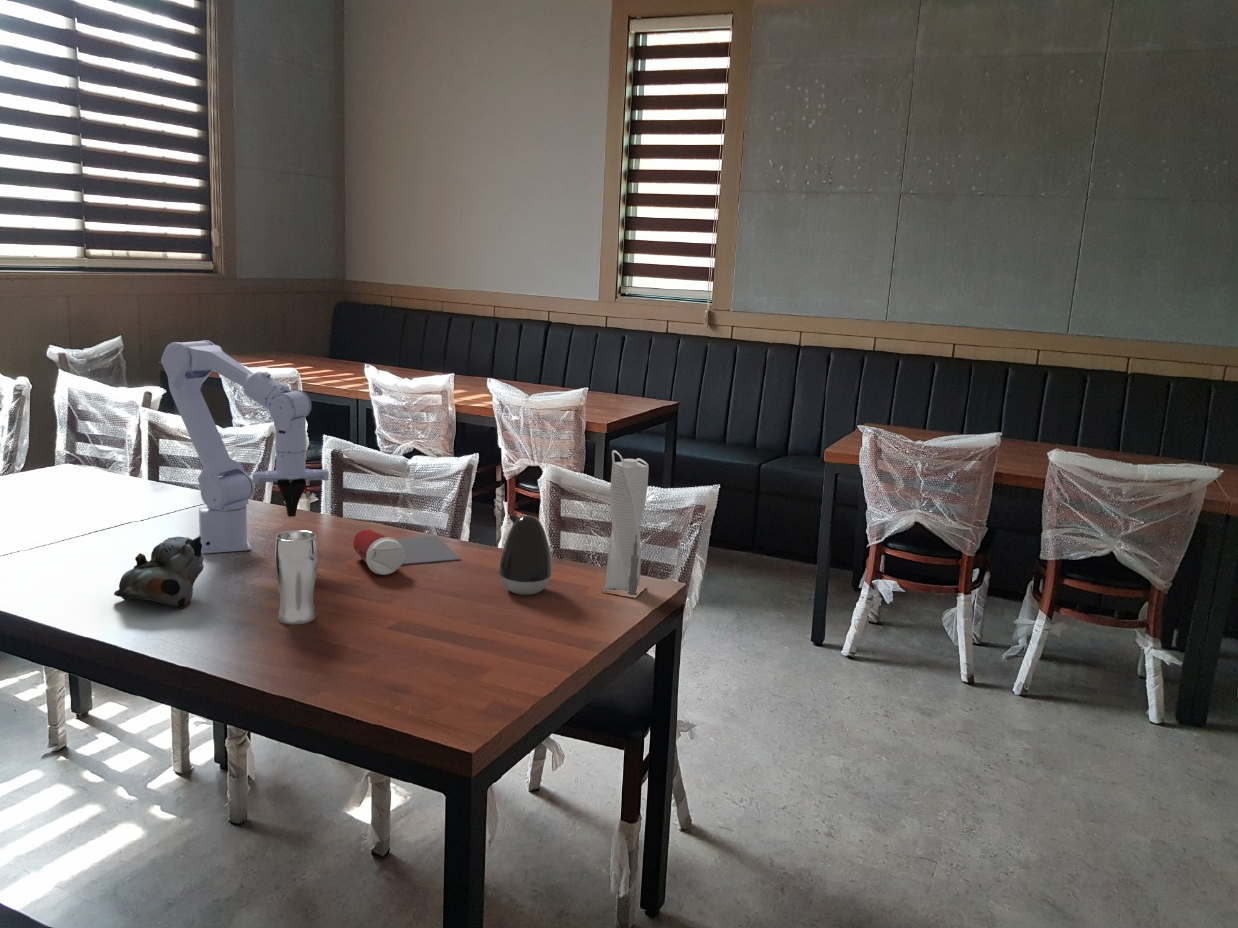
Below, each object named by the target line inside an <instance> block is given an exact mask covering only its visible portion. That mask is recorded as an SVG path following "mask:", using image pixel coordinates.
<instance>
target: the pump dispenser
mask: <svg viewBox="0 0 1238 928" xmlns="http://www.w3.org/2000/svg"><path fill="white" fill-rule="evenodd" d="M508 516H509V520H510V521H511V522H512V523H513V524H512V525H511V528H510V530H509V531H508V535H507V536H506V539H505V542H504V545H503V548H502V552H501V557H500V563H499V571H498V573H499V575H500V576H501V577H500V578H501V581H502V584H503V585H504V587H505V588H506V589H507V590H508V591H509V592H512V593H513V594H516V595H520V596H530V595H531V596H532V595H535V594H538V593H540V592H541V591H543V590H544V589H545V588H546V586H547V585H548V583H549V581H550V578H551V576H552V573H553V565H552V554H551V550H550V545H549V541H548V537H547V534H546V531H545V529H544V526H543V525H542V522H541V521H540V520H539V519H538V518H536V517H535V516H533V515H523V516H520V517H517V516H516V515H515V514H514V513H511V514H510V515H508Z"/></svg>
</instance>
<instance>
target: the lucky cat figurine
mask: <svg viewBox="0 0 1238 928" xmlns="http://www.w3.org/2000/svg"><path fill="white" fill-rule="evenodd" d="M200 541H201V537H195V538H194V539H192V538H190V537H188V536H187V537H186V536H185V537H184V536H172V537H167V538H165V539H164V540H163V542H160V543H158V544H157V545H156V546H154V548H153V549H152V552H151V554H150V560H149V561H148V560H147V557H146V556H145V554H144V553H142V552H141V553H140V552H139V553H138V555H136V556H135V558H134V560H135V562H136V565H134V566H133V567H132V568H131V569H129V570H127V571H125V572H124V573H123V574H122V576H121V578H120V581H119V584H118V587H119V588H118V590H115V591H113V592H114V593H113V596H116V597H119V598H122V600H123V601H124V600H125V601H126V600H128V599H131V600H133V599H134V600H142V601H143V600H145V601H153V602H157V603H161V604H164V605H168V606H173V607H178V608H179V609H185V608H187V607H188V606H190V605H191V602H192V599H193V595H194V594H193V593H194V583H195V582H196V580H197V578H198V577H199V575H200V574H201V572H203V570H204V568H205V567H204V566H205V564H204V563H203V562H204V559H205V556H204V553H202V551H201V549H202V544H201V542H200Z"/></svg>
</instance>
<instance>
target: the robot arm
mask: <svg viewBox="0 0 1238 928" xmlns="http://www.w3.org/2000/svg"><path fill="white" fill-rule="evenodd" d="M160 362H161V364H162V367H163V369H164V371H165V373H166V376H167V380H168V388H169V392H170V394H171V397H172V399H173V401H174V404H175V406H176V408H177V410H178V413H179V415H180V418H181V419H182V422H183V423H184V424H183V425H184V426H185V429H186V430H187V434H188V436H189V438H190V440H191V442H192V444H193V447H194V449H195V452H196V454H197V456H198V458H199V460H200V463H201V464H202V467H203V468H202V470H201V471H200V473H199V475H198V477H197V482H198V483H199V486H200V497H201V500H202V501H203V503H204V505H206V507H200V508H199V509H198V520H199V521H198V522H199V524H198V527H199V534H198V537H201V541H200V542H201V544H202V549H201V551H202V553H203V554H215V553H228V552H229V553H230V552H243V551H251V550H252V547H251V545H250V542H249V539H248V521H247V520H248V515H247V514H248V513H247V512H248V511H247V509H248V508H247V505H249V500H250V499H251V497H252V496H253V495H254V491H255V484H260V483H276V485H277V487H278V488H279V490H280V493H281V496H282V498H283V501H284V504H285V507H286V515H287V516H288V518H291V517H292V518H293V517H296V515H297V510H298V506H299V502H300V500H301V497H302V496H303V493H304V492H305V489H306V487H307V483H306V481H329V471H328V469H325V468H324V469H315V468H314V469H312V468H311V469H310V468H307V467H306V464H307V463H306V460H307V459H306V454H307V453H306V448H307V447H306V440H307V439H306V417H307V416H309V415H310V414H311V410H312V401H311V399H310V397H309V396H308V394H306V392H304V390H301V389H294V390H292V389H290V386H288V385H287V384H283V383H281V382H279V381H278V380H275V379H274V378H273V377H272V374H271V373H269V372H268V371H256V372H252V371H251V370H249V368H247V367H245V366H244V365H242V364H241V363H240V362H238V361H237V360H235V359H234V358H232V357H231V356H230V355H229V354H227V353H226V352H224V351H223V350H222V347H221V346H220V345H217V344H215V343H213V342H212V341H210V340H208V339H207V340H206V339H204V340H203V339H202V340H199V341H187V342H184V341H183V342H179V341H173V342H170V343H169V344H167V345H166V347H165V348H164V351H163V353H162V356H161V359H160ZM213 372H215V373H216V374H218V375H220V376H222V377H224V378H226V379H228V380H229V381H231V382H233V383H235V384H237V385H239V386H241V387H243V392H244V395H245V396H247V397H248V398H249V399H251V400H252V401H254V402H255V403H257V404H259V405H260V406H262V407H263V408H265V409H267V410H268V412H269V416H271V418H272V420H273V427H275V428H274V429H275V469H274V470H265V471H257V472H256V471H253V472H252V476H250V475H249V474H248V473H247V472H246V471H245V469H244V467H243V465H242V464H241V463H240V462H238V461H236V460H234V459H232V458H231V456H230V454H229V452H228V451H227V448H226V446H225V443H224V441H223V439H222V437H221V435H220V432H219V430H218V428H217V425H216V423H215V421H214V418H213V417H212V414H211V411H210V409H209V406H208V404H207V402H206V400H205V398H204V396H203V393H202V391H201V388H202V385H204V384H203V383H204V382H205V381H206V380H207V379H208V377H210V375H211V373H213Z"/></svg>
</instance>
